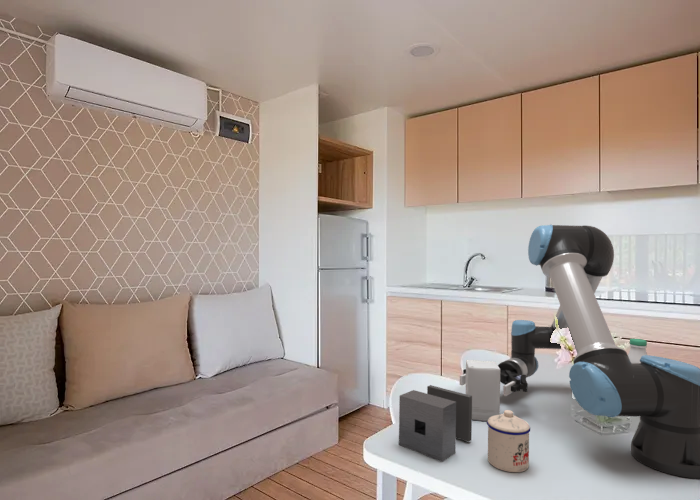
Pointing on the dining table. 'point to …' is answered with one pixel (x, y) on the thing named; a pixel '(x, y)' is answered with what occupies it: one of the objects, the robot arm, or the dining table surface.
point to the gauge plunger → (457, 410)
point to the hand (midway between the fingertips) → (481, 385)
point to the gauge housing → (427, 424)
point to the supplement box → (483, 388)
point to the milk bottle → (637, 350)
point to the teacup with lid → (508, 442)
